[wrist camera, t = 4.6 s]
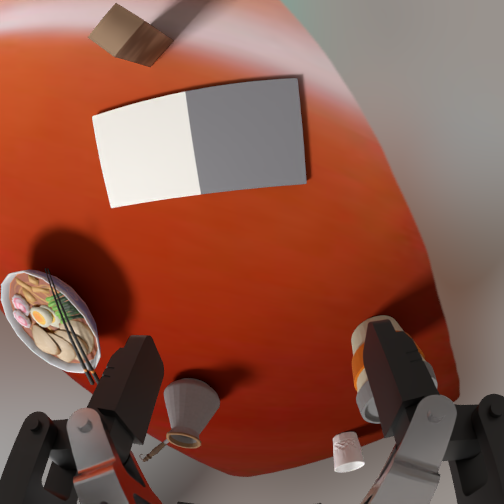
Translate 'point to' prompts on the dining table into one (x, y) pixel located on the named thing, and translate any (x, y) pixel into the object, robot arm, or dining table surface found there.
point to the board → (203, 142)
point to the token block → (129, 37)
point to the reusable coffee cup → (359, 373)
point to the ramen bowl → (52, 321)
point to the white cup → (347, 452)
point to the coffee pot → (187, 412)
